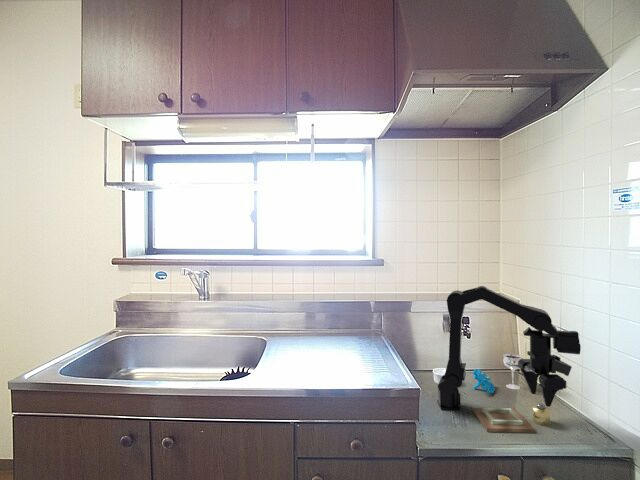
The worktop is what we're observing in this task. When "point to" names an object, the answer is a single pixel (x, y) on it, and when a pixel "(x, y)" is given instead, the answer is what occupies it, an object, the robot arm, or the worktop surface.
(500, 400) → the worktop surface
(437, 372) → the ramekin
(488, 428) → the carrier board
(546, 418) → the tan two-tone cylinder
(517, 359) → the wineglass
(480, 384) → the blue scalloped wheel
